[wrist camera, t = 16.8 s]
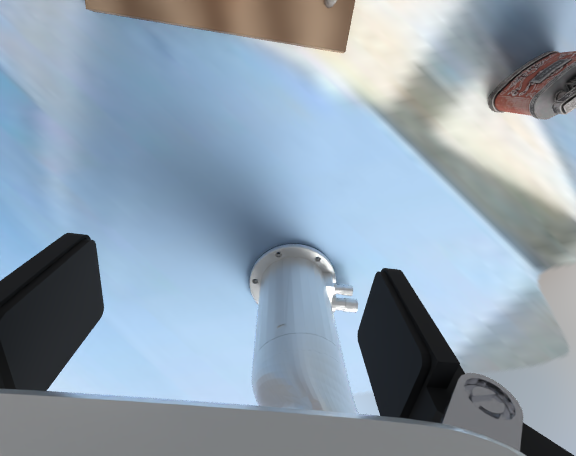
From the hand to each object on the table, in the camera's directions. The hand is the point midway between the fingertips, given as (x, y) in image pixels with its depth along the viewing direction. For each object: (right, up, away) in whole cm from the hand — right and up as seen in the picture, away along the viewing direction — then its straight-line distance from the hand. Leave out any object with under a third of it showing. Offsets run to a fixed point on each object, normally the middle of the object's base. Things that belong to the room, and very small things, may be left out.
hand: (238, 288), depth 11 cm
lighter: (+28, +19, +26) cm, 43 cm away
